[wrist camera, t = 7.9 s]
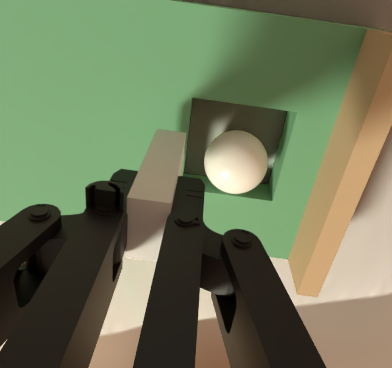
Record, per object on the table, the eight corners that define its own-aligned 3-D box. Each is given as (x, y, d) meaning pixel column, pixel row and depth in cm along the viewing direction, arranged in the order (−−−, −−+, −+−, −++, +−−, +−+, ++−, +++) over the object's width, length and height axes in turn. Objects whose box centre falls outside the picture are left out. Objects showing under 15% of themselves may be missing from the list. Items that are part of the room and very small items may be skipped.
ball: (195, 176, 22) (210, 207, 18) (200, 121, 20) (217, 145, 17) (249, 174, 22) (271, 204, 19) (258, 121, 21) (284, 144, 18)
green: (-39, 196, 24) (-96, 242, 20) (-100, -41, 17) (-208, -51, 13) (299, 242, 24) (317, 297, 20) (375, 28, 17) (427, 41, 13)
